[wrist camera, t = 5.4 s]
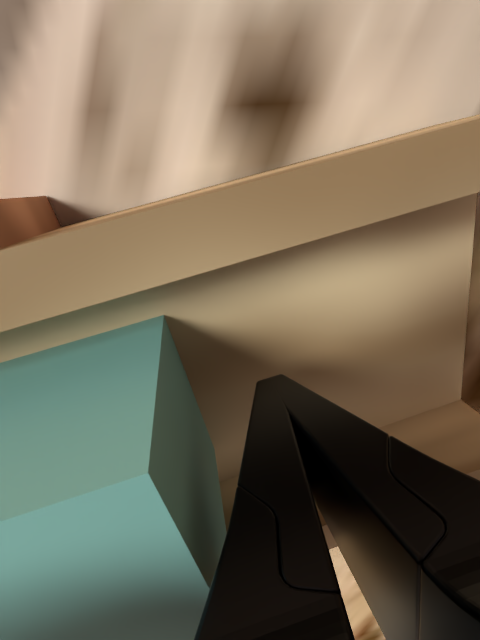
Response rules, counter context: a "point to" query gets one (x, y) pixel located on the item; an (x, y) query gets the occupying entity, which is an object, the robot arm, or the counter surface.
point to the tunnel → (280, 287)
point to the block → (105, 492)
